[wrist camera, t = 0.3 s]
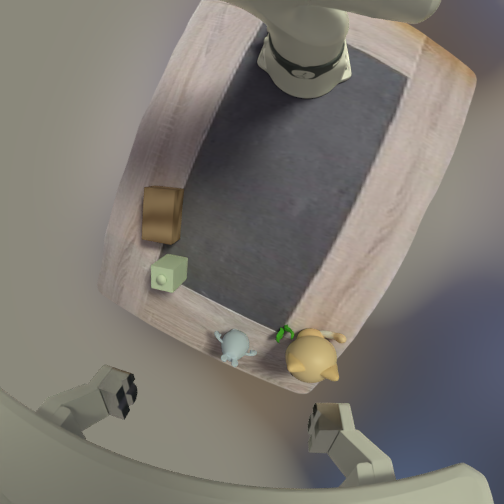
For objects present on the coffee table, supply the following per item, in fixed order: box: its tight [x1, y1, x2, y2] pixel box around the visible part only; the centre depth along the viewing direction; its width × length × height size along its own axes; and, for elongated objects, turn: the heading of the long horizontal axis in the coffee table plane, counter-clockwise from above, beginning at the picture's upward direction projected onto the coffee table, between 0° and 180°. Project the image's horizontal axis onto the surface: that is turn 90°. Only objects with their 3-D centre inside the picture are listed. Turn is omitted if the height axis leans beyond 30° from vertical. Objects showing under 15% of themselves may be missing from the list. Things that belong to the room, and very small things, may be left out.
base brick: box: [142, 186, 184, 245], centre depth 56 cm, size 11×7×5 cm, turn 172°
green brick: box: [151, 254, 188, 293], centre depth 58 cm, size 5×5×8 cm
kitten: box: [276, 325, 346, 383], centre depth 55 cm, size 15×10×15 cm
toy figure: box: [214, 329, 257, 367], centre depth 59 cm, size 11×6×12 cm, turn 62°
